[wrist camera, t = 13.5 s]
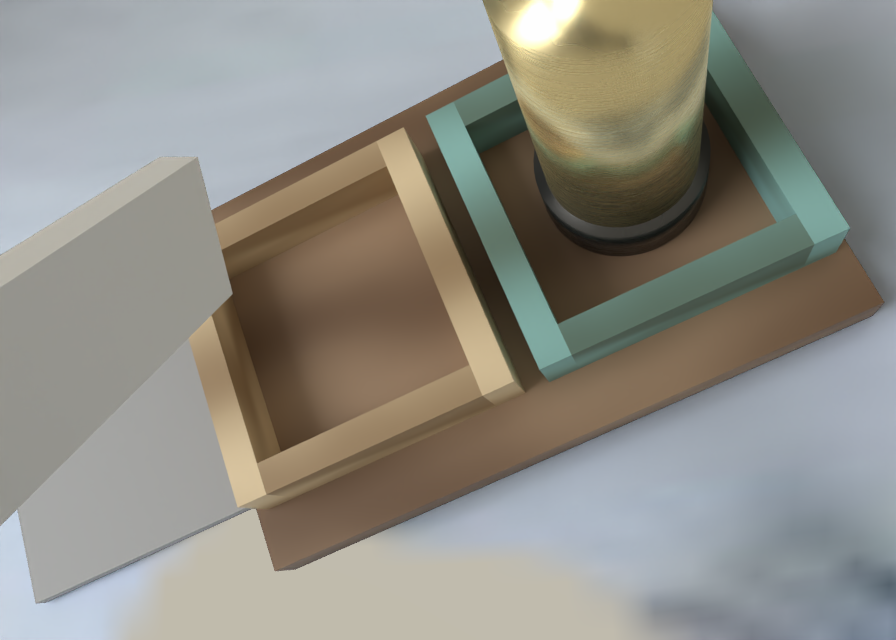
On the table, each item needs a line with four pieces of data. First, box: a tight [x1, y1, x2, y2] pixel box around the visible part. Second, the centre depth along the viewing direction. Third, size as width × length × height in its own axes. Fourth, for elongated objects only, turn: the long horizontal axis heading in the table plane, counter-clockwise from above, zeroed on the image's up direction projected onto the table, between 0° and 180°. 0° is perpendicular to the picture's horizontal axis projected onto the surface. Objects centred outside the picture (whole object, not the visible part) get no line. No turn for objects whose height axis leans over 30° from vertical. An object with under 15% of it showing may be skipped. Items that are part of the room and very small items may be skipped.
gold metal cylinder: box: [483, 0, 713, 256], centre depth 21 cm, size 5×5×11 cm
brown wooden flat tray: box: [189, 11, 884, 571], centre depth 26 cm, size 13×20×4 cm, turn 112°
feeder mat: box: [17, 338, 253, 604], centre depth 30 cm, size 10×9×1 cm
